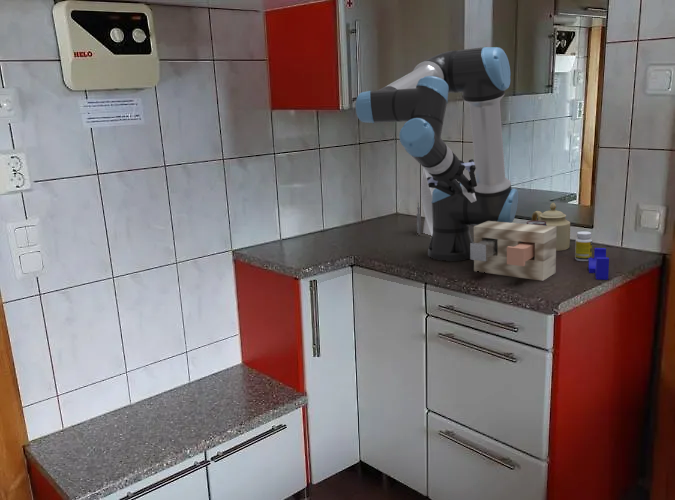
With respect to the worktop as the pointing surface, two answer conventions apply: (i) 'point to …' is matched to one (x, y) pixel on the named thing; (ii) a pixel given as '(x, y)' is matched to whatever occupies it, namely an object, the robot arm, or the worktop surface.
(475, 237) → the housing
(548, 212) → the sugar bowl
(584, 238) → the supplement bottle
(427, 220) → the skyscraper
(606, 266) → the blue curved cradle
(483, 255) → the grey plug
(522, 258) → the terracotta plug
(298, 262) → the worktop surface
